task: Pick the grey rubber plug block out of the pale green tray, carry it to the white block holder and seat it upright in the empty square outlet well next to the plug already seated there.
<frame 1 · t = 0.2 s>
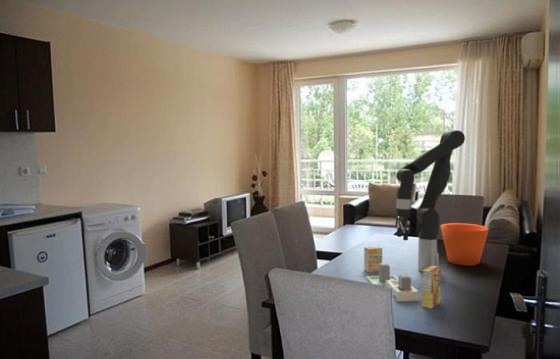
hand: (402, 238, 213), 18 cm above the table, tool pointing down, fingers open, 8 cm apart
white block holder: (401, 294, 181), on the table
plug: (384, 281, 196), point 1 cm above the table, touching tray
tray: (384, 283, 196), on the table
flowerpot: (463, 261, 232), on the table
supplement box: (373, 272, 215), on the table
candy box: (431, 305, 168), on the table
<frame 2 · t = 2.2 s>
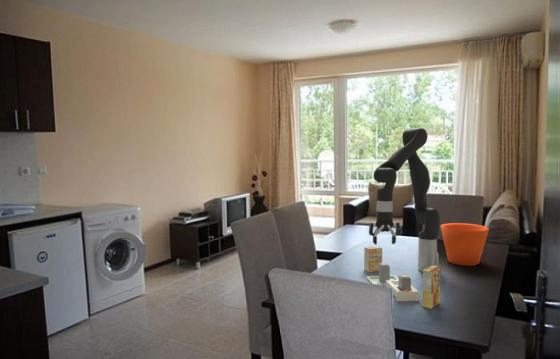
hand: (384, 244, 194), 19 cm above the table, tool pointing down, fingers open, 8 cm apart
nothing on the table moved.
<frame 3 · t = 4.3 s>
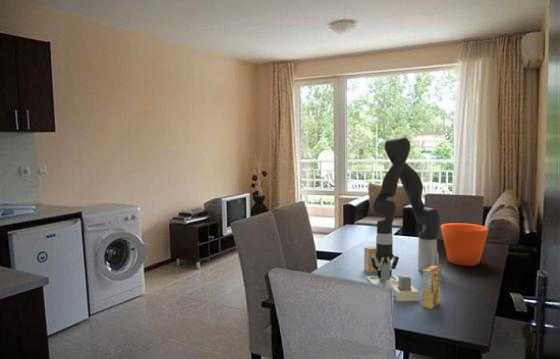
hand: (384, 277, 195), 3 cm above the table, tool pointing down, fingers closed on plug, 4 cm apart
plug: (384, 281, 196), point 1 cm above the table, touching gripper, tray
everything else where it was.
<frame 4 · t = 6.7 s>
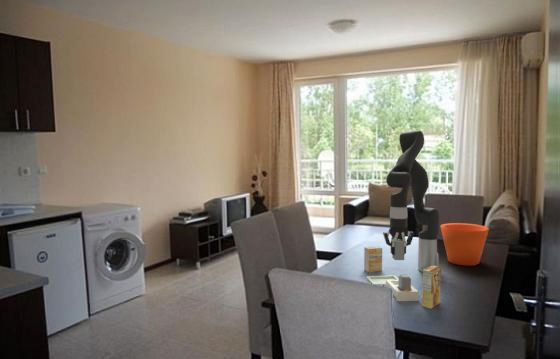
hand: (398, 254, 184), 17 cm above the table, tool pointing down, fingers closed on plug, 4 cm apart
plug: (398, 258, 184), point 15 cm above the table, touching gripper
everything else where it was.
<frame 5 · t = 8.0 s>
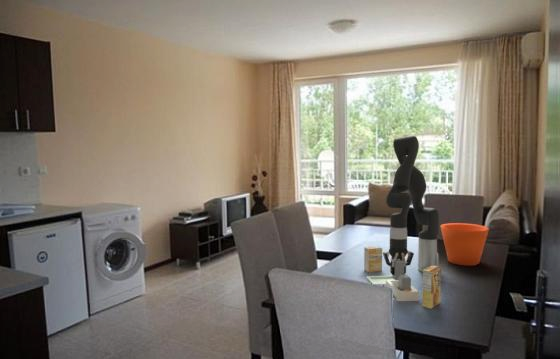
hand: (398, 274, 184), 8 cm above the table, tool pointing down, fingers closed on plug, 4 cm apart
plug: (398, 278, 184), point 6 cm above the table, touching gripper
everything else where it was.
when the fingers open (4 cm above the table, at t = 9.0 s): plug drops 1 cm, resting on white block holder.
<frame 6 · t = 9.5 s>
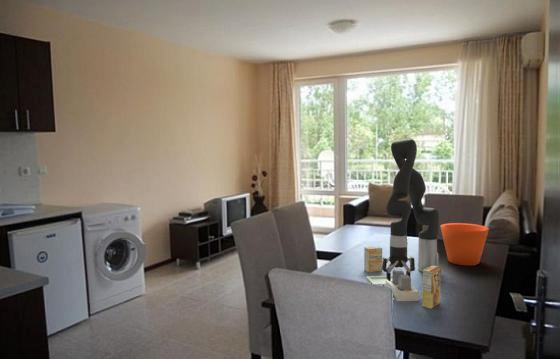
hand: (398, 280, 185), 5 cm above the table, tool pointing down, fingers open, 8 cm apart
plug: (398, 289, 185), point 1 cm above the table, touching white block holder
everything else where it was.
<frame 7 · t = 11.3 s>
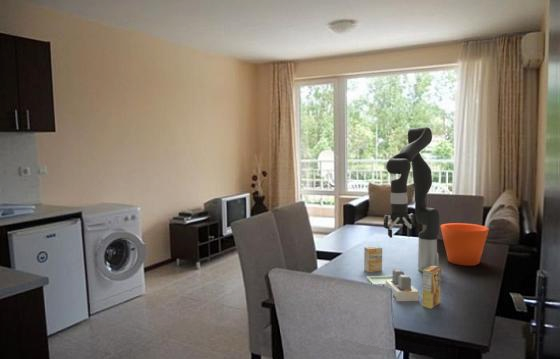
hand: (399, 236, 190), 24 cm above the table, tool pointing down, fingers open, 8 cm apart
nothing on the table moved.
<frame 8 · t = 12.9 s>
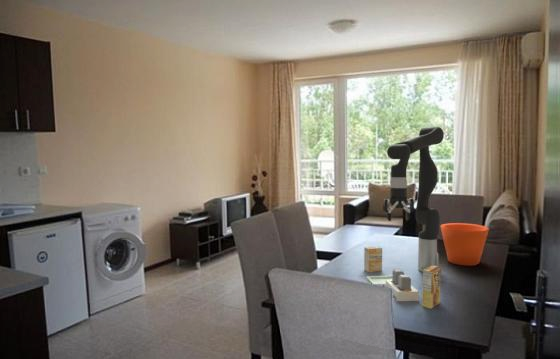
hand: (398, 220, 195), 30 cm above the table, tool pointing down, fingers open, 8 cm apart
nothing on the table moved.
at the end: plug 0.0 cm from the target spot on the white block holder, point 1.0 cm above the white block holder's base; plug tilted 0°; the gripper is holding nothing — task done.
